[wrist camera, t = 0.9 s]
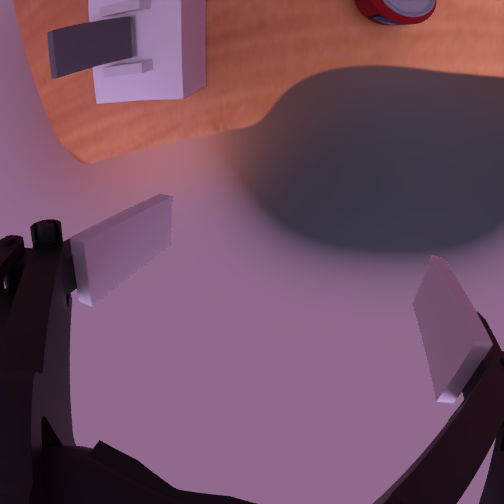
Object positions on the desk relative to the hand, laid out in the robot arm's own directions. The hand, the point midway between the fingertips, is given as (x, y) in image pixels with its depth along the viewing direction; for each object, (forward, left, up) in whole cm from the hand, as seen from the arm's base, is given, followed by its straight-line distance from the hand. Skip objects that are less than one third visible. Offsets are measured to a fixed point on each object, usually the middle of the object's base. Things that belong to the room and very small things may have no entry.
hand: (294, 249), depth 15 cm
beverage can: (-4, +17, -29) cm, 34 cm away
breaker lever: (-21, -5, -20) cm, 30 cm away
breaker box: (-21, -5, -29) cm, 36 cm away
